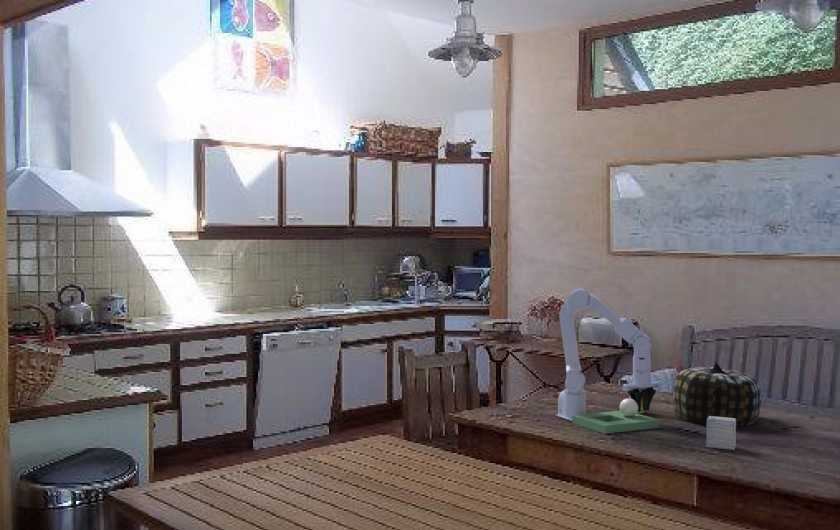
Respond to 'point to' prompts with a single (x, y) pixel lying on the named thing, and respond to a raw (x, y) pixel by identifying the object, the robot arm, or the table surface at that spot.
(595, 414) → the putting board
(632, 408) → the white ball
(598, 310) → the robot arm
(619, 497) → the table surface
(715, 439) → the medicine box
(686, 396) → the decorative pumpkin
